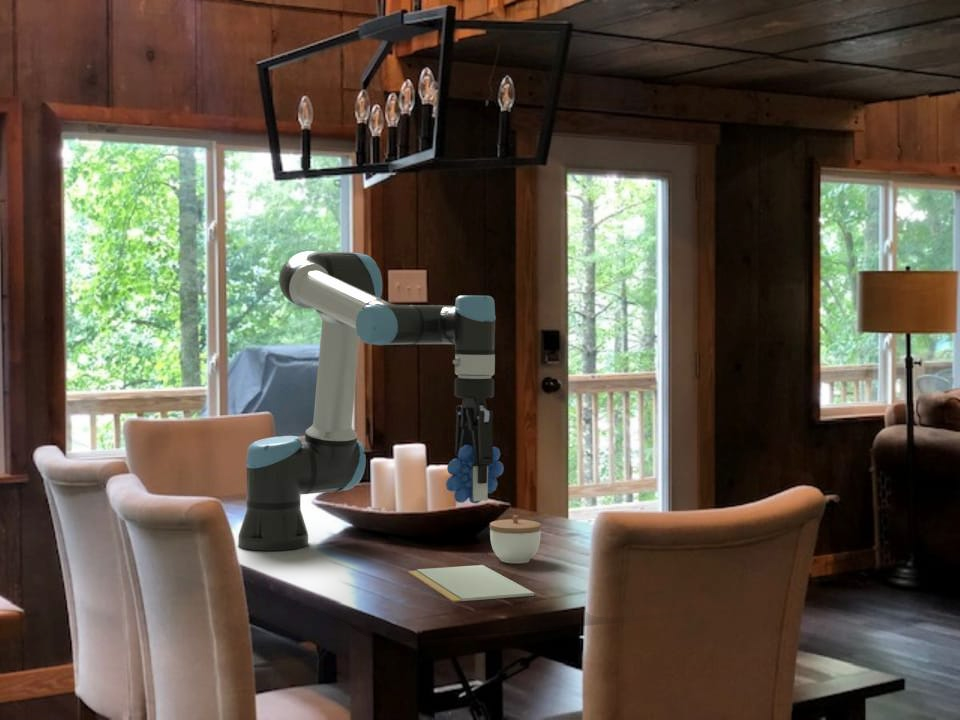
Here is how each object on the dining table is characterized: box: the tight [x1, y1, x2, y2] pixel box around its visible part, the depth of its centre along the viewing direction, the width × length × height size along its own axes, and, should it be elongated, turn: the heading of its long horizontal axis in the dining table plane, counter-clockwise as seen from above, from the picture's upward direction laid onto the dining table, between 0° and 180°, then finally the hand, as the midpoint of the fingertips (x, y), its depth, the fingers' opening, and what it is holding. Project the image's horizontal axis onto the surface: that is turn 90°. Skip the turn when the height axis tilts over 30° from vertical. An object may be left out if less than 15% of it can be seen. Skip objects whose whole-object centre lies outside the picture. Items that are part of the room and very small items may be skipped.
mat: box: [416, 564, 535, 602], centre depth 238 cm, size 26×14×1 cm, turn 21°
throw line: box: [407, 570, 462, 603], centre depth 235 cm, size 26×2×1 cm, turn 21°
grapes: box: [445, 445, 505, 504], centre depth 237 cm, size 12×7×12 cm, turn 112°
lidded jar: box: [489, 514, 542, 564], centre depth 260 cm, size 11×11×9 cm
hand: (473, 497), depth 238 cm, fingers closed on grapes, 7 cm apart
